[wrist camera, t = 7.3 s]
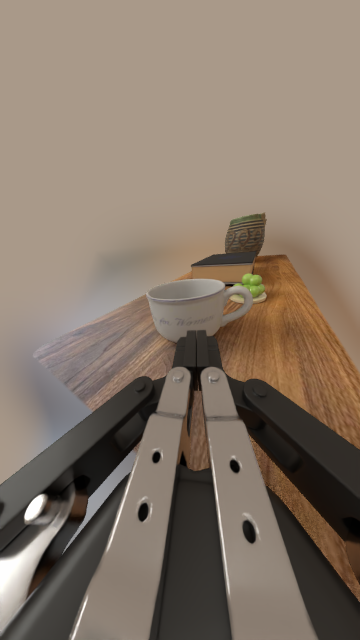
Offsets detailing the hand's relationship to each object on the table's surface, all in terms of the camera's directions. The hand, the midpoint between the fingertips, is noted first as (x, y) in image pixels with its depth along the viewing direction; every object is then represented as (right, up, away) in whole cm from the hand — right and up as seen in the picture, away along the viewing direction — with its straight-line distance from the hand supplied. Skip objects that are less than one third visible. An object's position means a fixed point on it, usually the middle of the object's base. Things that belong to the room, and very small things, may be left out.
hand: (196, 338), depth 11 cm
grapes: (+15, +7, +21) cm, 26 cm away
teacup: (+2, -1, +11) cm, 11 cm away
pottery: (+32, +33, +61) cm, 76 cm away
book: (+16, +18, +39) cm, 46 cm away
